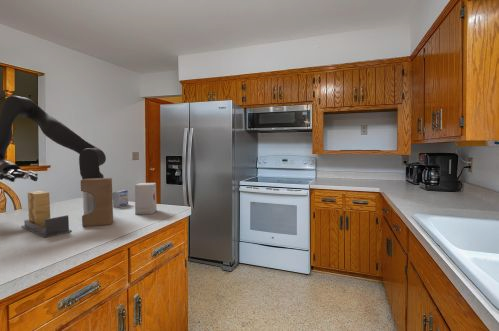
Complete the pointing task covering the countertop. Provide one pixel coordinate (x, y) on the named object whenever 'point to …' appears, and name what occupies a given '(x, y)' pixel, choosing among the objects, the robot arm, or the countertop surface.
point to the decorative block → (98, 201)
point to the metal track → (49, 226)
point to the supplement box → (145, 198)
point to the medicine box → (120, 198)
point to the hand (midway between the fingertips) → (25, 179)
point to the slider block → (38, 207)
